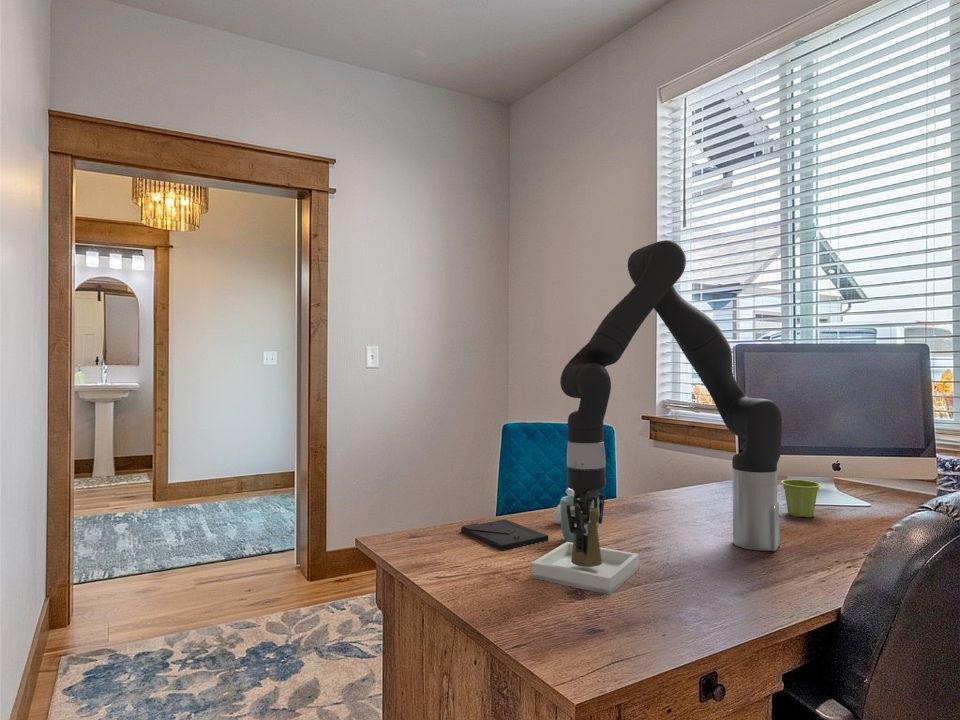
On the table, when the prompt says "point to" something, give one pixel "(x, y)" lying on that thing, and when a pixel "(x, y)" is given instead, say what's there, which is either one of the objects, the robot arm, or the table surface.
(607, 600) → the table surface
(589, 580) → the tray
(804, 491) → the plant pot
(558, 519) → the bust
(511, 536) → the picture frame
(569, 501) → the cup
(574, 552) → the olive rounded piece
